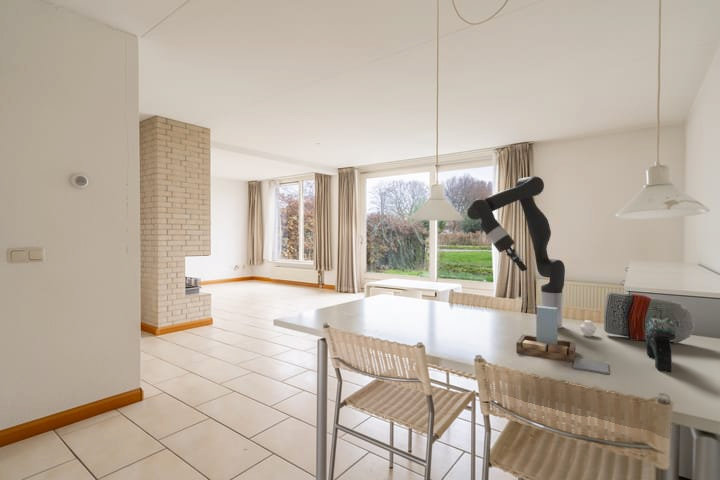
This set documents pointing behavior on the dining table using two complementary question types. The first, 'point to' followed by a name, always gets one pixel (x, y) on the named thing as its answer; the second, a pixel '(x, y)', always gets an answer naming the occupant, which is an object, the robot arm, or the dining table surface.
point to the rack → (547, 354)
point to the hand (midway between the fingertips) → (525, 270)
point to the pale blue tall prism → (546, 324)
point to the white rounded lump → (588, 328)
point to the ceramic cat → (660, 341)
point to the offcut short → (558, 349)
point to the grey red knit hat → (644, 315)
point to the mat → (591, 366)
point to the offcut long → (534, 345)
